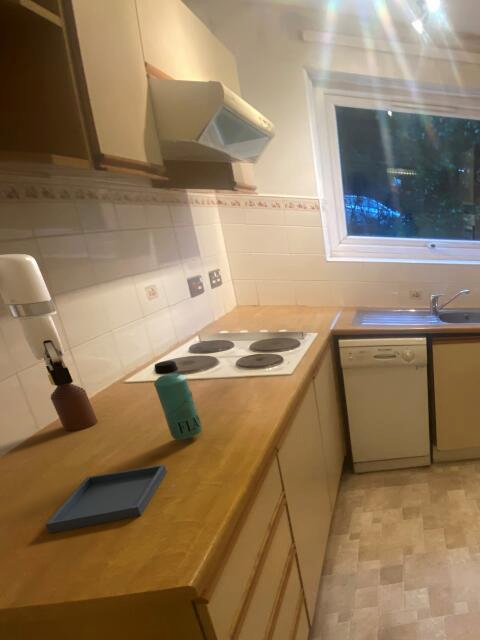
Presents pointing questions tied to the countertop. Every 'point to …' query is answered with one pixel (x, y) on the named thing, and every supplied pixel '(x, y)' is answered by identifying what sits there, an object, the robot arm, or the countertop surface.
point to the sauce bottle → (73, 407)
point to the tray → (108, 498)
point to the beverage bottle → (177, 401)
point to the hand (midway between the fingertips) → (62, 380)
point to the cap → (52, 379)
